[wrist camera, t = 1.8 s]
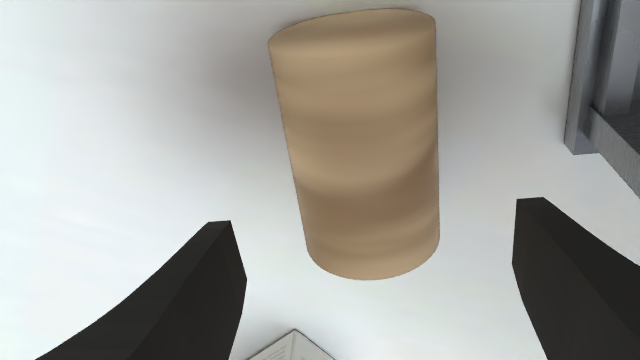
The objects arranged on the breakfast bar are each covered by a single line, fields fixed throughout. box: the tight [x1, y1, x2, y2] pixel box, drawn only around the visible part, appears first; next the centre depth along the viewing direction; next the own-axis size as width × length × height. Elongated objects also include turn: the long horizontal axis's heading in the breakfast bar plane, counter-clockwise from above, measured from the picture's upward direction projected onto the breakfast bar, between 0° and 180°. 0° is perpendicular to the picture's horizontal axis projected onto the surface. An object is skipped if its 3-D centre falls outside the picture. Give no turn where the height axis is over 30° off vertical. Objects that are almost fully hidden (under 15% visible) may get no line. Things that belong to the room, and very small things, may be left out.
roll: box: [268, 9, 440, 280], centre depth 18 cm, size 8×5×5 cm, turn 8°
